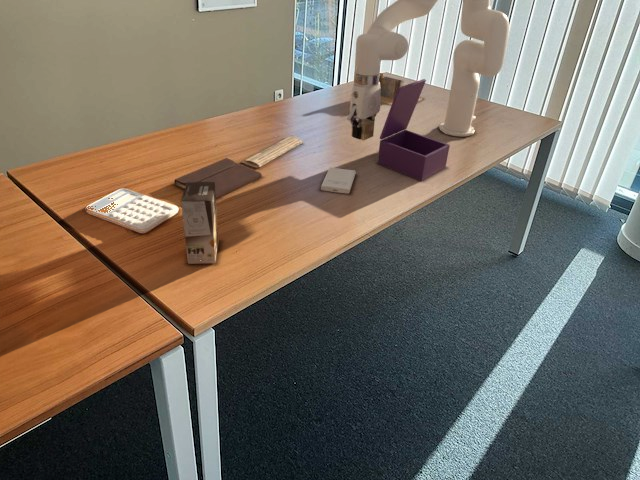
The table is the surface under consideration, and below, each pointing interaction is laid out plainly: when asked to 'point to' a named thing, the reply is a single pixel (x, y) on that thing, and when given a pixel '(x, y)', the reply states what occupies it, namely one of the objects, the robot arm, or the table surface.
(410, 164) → the purple lidded box
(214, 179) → the notebook
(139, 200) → the calculator
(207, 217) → the coffee box
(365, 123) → the block
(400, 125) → the lid
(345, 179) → the hard drive
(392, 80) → the architectural model on board
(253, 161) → the newspaper
